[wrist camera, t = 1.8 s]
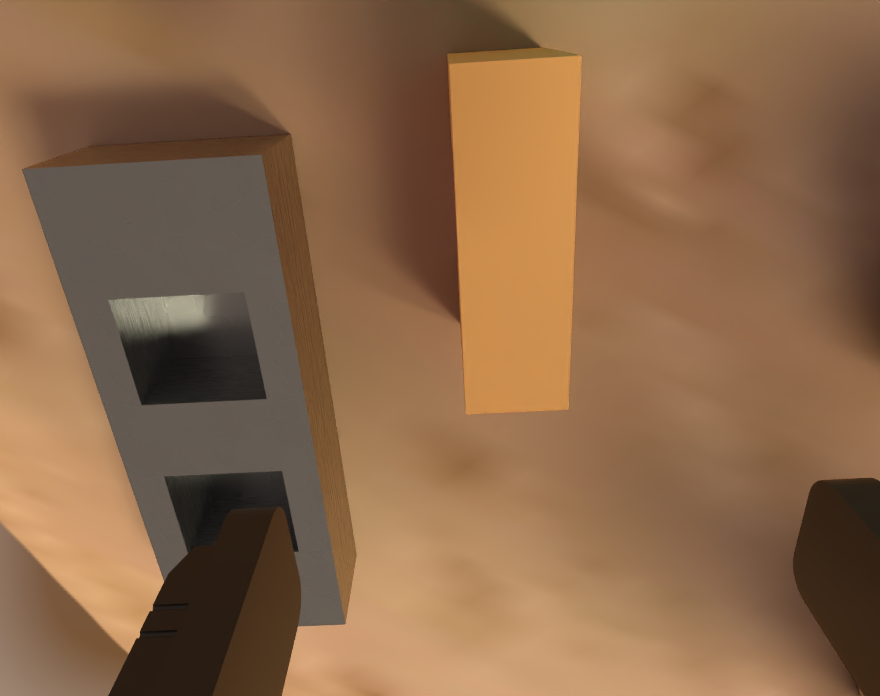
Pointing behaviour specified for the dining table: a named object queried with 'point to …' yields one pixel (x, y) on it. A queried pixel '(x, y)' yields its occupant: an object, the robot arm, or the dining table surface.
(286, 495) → the grey slotted block
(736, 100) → the dining table surface
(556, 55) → the long orange brick
